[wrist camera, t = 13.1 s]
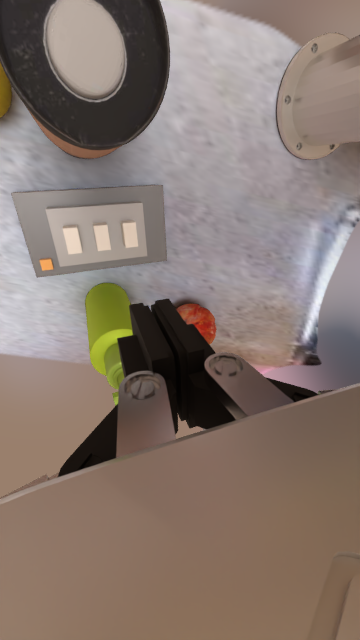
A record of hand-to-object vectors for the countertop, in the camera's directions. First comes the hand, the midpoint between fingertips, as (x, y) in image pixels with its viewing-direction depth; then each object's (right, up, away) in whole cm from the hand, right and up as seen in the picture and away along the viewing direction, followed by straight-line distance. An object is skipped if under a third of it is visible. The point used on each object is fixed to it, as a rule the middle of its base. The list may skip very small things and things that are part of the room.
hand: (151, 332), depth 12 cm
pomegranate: (+2, +1, +32) cm, 32 cm away
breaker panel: (-9, +12, +22) cm, 26 cm away
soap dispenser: (-9, +3, +27) cm, 28 cm away
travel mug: (-9, +22, +17) cm, 29 cm away
